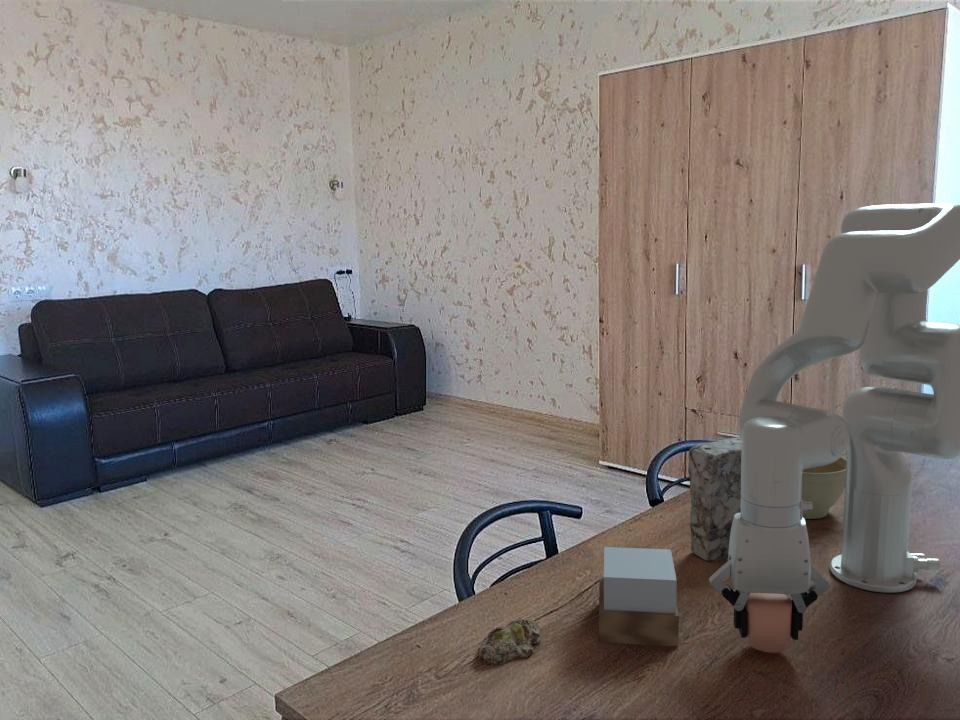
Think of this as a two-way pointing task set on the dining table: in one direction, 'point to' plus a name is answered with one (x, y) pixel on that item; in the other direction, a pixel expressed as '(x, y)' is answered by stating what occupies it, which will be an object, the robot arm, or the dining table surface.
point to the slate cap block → (639, 580)
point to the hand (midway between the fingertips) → (767, 632)
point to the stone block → (714, 496)
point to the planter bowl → (823, 487)
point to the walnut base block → (636, 625)
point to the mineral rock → (510, 642)
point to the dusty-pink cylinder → (769, 622)
